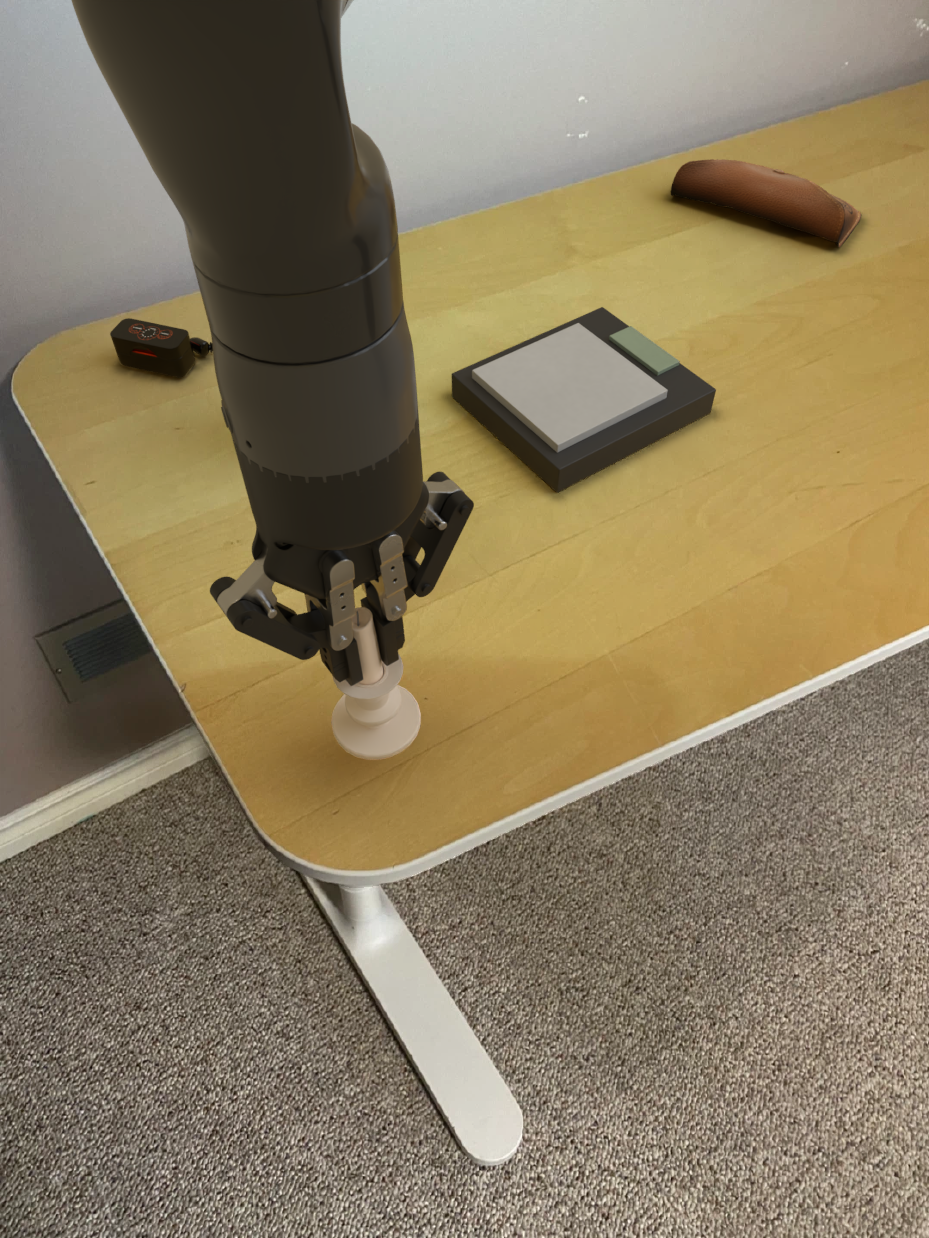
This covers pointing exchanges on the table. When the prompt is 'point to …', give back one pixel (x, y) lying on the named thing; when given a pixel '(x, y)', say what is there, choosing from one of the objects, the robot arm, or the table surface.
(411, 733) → the candle
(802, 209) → the sunglasses case
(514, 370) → the scale
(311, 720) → the table surface
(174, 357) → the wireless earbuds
